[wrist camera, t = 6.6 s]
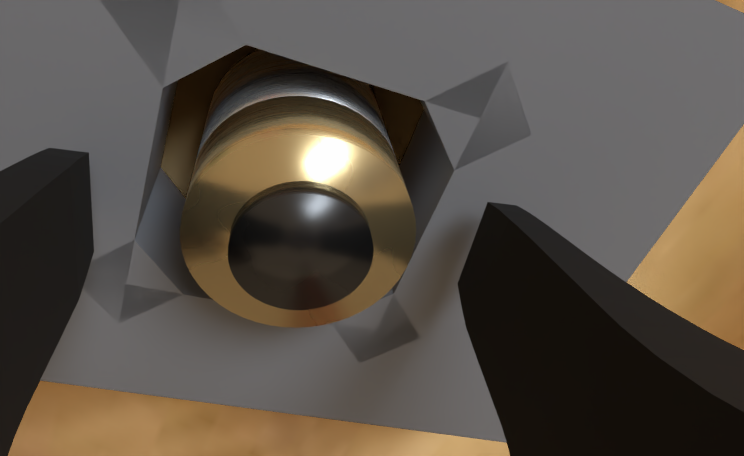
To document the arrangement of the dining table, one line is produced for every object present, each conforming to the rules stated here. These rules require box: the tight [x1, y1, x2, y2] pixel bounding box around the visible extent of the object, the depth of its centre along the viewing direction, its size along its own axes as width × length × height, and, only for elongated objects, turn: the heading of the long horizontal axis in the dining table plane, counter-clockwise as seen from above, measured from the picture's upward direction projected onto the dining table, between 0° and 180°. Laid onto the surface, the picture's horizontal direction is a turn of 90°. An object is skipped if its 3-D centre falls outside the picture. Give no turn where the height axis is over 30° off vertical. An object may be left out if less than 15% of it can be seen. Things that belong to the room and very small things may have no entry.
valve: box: [180, 50, 416, 328], centre depth 12 cm, size 4×4×5 cm
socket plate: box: [0, 0, 744, 442], centre depth 13 cm, size 16×12×3 cm
